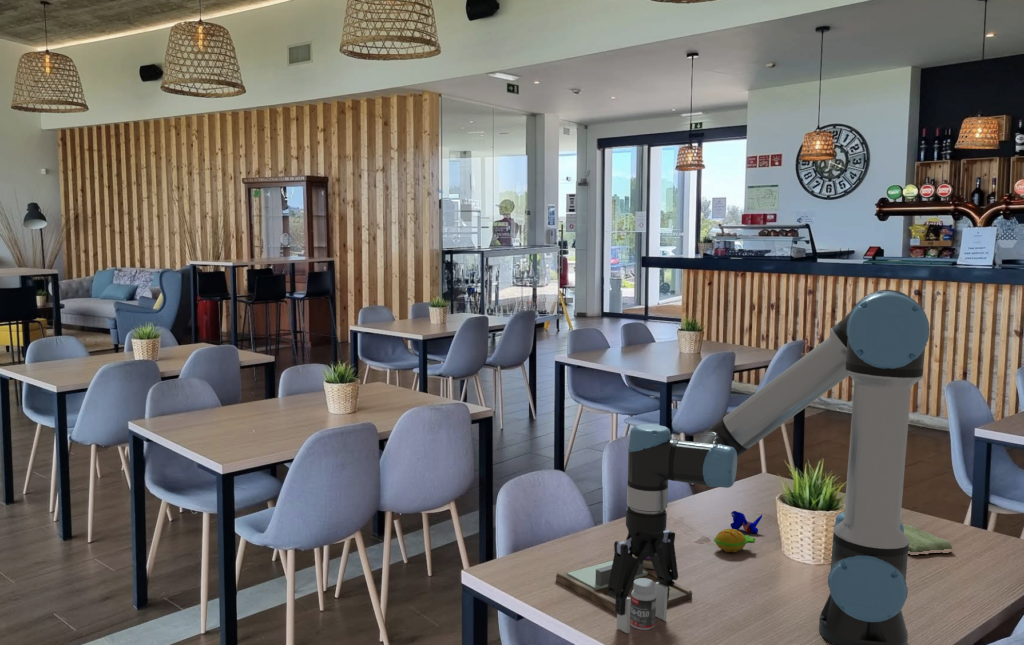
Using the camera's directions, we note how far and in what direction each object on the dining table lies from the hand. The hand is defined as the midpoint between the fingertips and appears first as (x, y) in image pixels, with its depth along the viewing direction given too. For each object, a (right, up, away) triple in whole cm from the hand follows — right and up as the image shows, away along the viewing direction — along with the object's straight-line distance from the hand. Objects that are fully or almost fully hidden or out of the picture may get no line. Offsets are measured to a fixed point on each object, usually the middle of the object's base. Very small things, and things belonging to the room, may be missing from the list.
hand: (641, 623), depth 155 cm
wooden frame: (-1, +1, +16) cm, 16 cm away
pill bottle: (0, 0, 0) cm, 0 cm away
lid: (-4, +3, +20) cm, 20 cm away
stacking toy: (+7, +2, +30) cm, 31 cm away
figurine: (+35, +4, +54) cm, 64 cm away
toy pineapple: (+28, +2, +40) cm, 49 cm away
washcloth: (+73, +2, +48) cm, 88 cm away
